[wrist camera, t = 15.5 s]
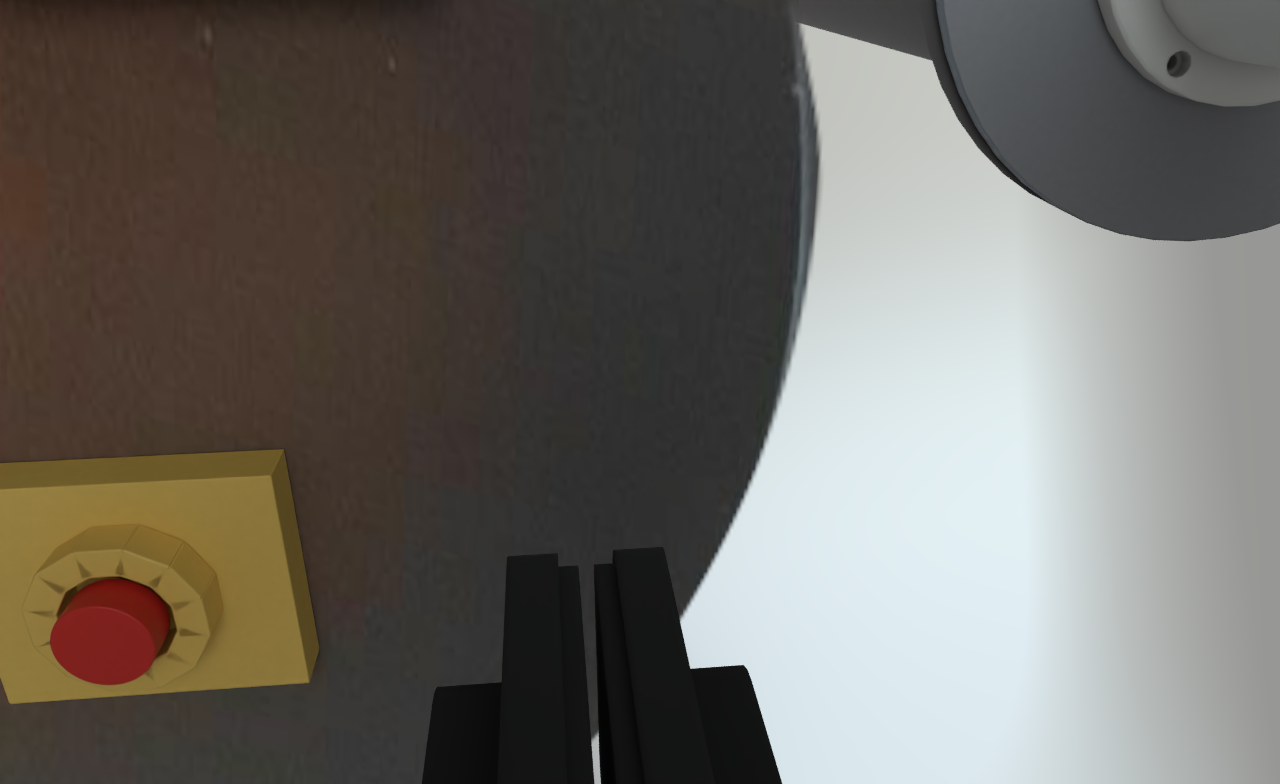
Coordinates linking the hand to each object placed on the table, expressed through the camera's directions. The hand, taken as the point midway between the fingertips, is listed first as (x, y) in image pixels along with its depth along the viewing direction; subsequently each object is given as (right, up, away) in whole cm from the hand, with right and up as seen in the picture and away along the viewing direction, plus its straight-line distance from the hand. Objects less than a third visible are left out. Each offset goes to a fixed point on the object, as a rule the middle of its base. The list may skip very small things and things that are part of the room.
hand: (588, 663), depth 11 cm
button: (-19, -6, +26) cm, 33 cm away
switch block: (-20, -4, +30) cm, 36 cm away
